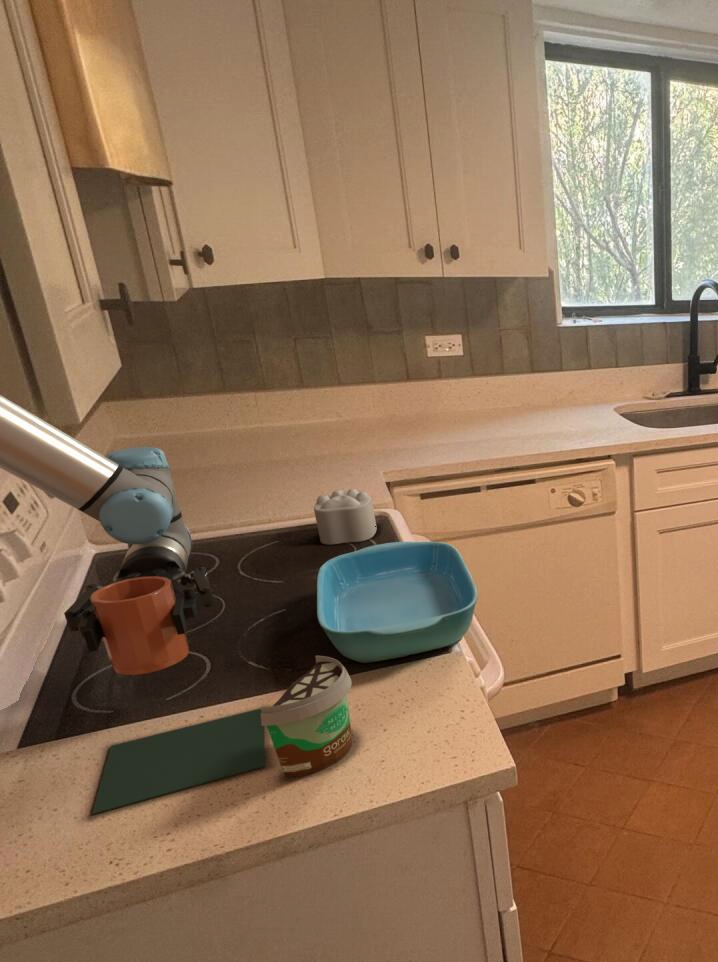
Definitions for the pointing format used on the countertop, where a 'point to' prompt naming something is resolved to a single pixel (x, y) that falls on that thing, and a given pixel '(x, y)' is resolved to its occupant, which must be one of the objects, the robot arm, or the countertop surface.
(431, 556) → the casserole dish
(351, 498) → the lumpy-topped squat cylinder
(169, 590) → the cup
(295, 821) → the countertop surface
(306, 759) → the food container
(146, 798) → the mat
